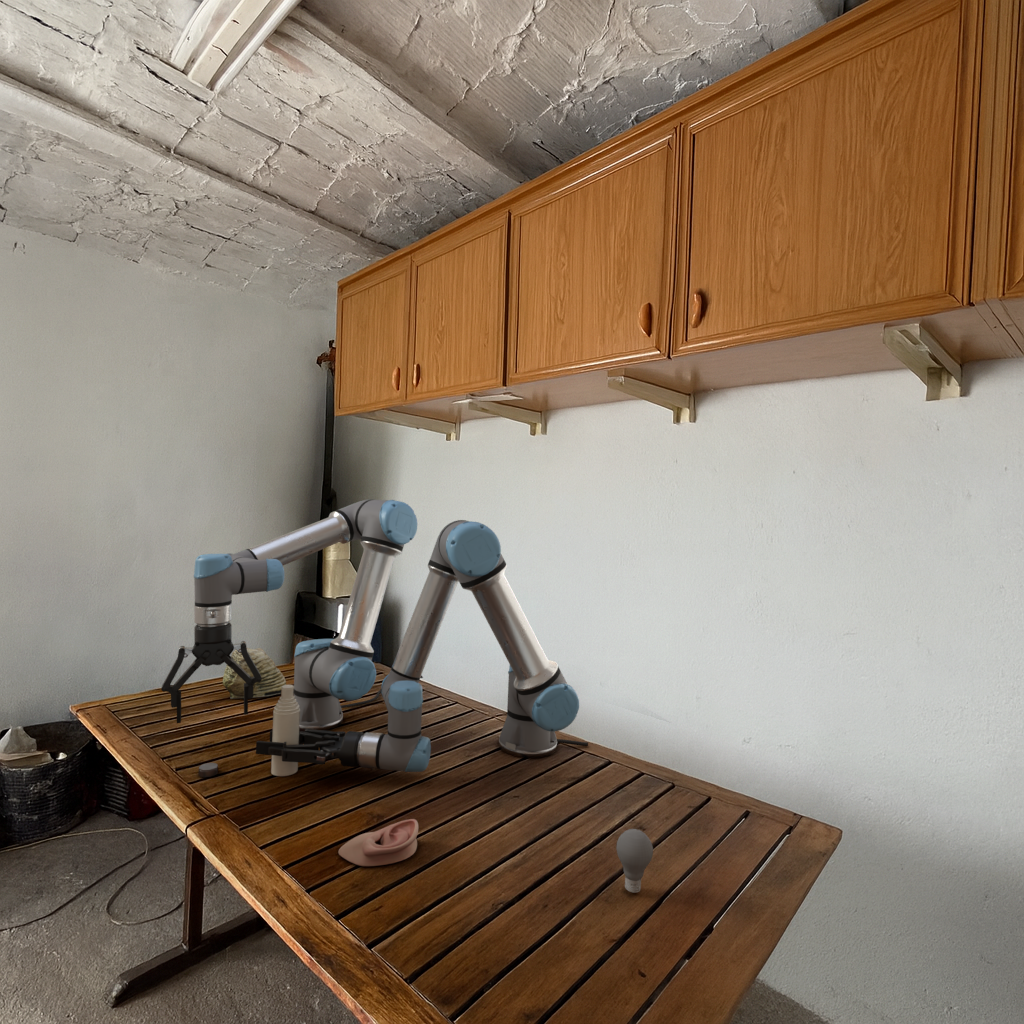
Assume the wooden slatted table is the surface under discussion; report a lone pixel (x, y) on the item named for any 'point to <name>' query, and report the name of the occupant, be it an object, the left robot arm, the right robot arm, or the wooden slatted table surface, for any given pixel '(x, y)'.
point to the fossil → (265, 666)
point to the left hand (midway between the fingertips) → (213, 717)
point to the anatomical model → (382, 845)
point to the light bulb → (634, 857)
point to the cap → (208, 770)
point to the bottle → (285, 729)
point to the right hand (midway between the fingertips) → (264, 741)
